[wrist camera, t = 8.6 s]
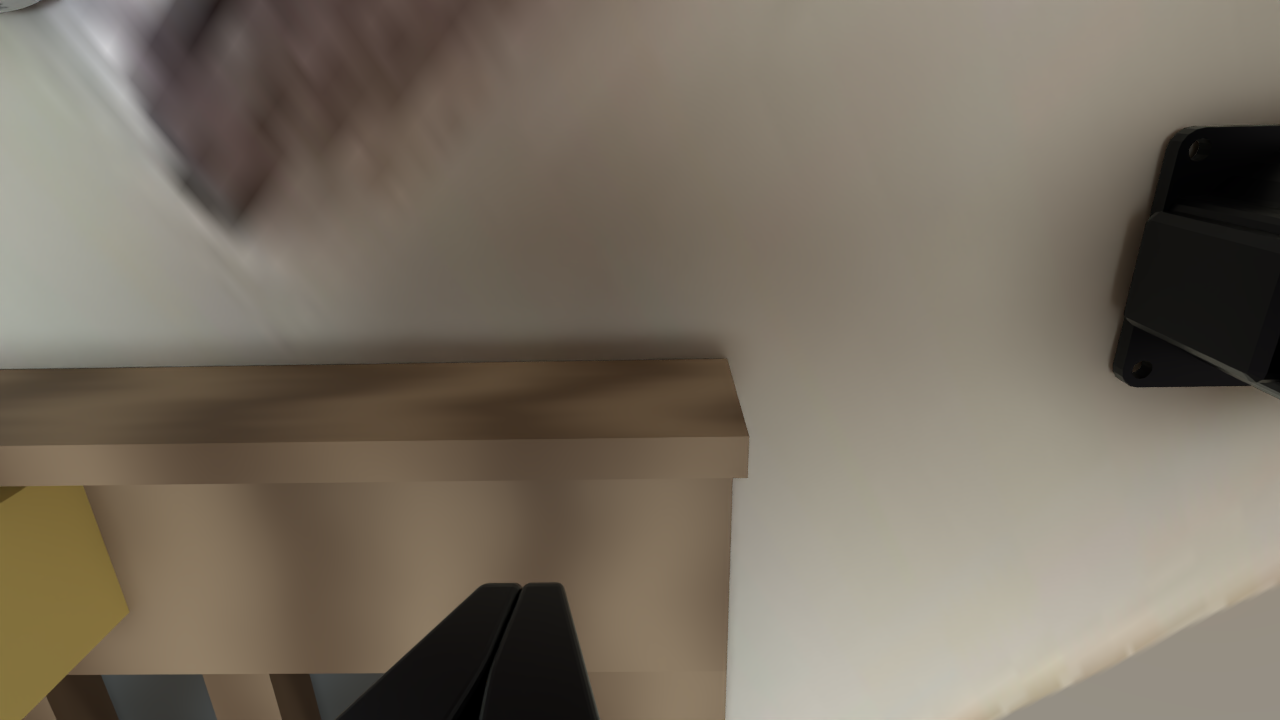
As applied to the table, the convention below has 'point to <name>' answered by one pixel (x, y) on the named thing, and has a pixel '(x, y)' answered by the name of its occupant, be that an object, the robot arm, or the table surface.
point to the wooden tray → (386, 522)
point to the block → (50, 591)
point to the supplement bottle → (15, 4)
